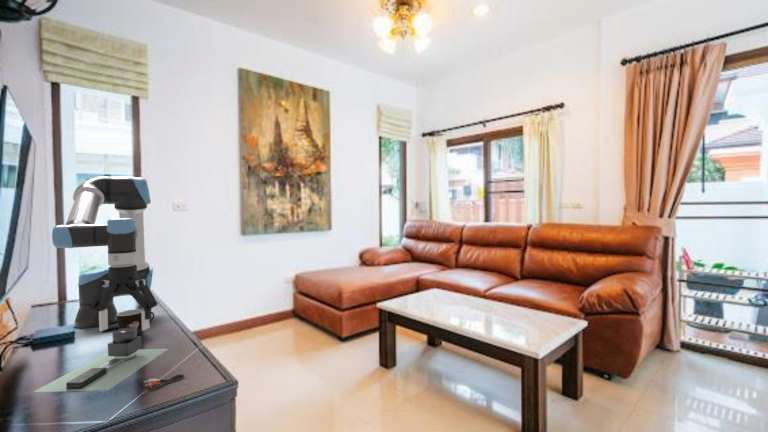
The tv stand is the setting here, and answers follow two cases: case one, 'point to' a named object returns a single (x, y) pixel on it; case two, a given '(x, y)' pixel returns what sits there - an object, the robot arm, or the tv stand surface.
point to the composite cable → (161, 382)
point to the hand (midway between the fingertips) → (124, 329)
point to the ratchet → (97, 372)
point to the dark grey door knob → (124, 342)
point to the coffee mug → (131, 320)
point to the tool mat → (108, 379)
